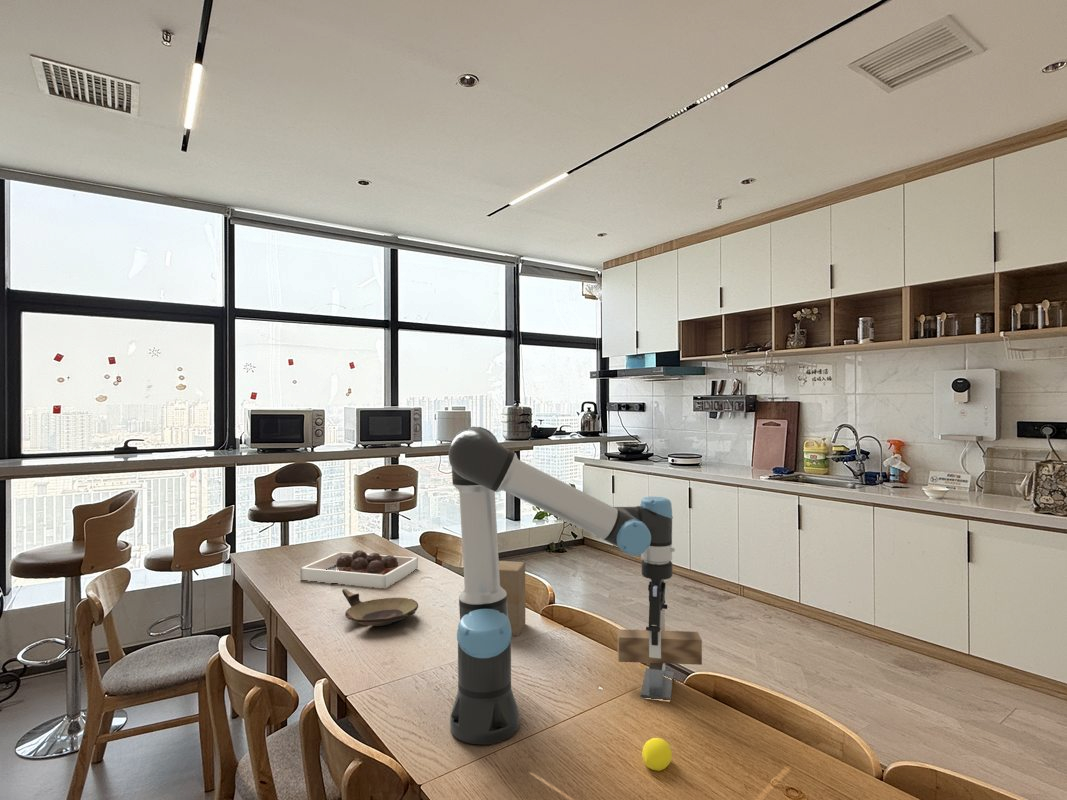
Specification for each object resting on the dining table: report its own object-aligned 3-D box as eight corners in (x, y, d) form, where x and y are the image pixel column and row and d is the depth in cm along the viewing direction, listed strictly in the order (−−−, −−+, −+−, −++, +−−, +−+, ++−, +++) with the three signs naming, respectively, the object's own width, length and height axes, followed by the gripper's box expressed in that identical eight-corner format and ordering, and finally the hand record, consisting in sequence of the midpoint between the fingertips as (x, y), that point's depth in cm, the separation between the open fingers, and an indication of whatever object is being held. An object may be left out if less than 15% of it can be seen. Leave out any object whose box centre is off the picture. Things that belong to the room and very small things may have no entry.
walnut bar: (697, 655, 146) (697, 631, 146) (701, 664, 141) (701, 640, 141) (617, 652, 148) (617, 629, 148) (618, 661, 143) (618, 637, 143)
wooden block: (518, 637, 175) (518, 570, 175) (486, 634, 177) (486, 569, 177) (525, 624, 185) (525, 561, 185) (495, 622, 187) (495, 560, 187)
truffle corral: (385, 589, 221) (385, 575, 221) (300, 580, 231) (300, 568, 231) (417, 569, 245) (417, 557, 245) (339, 562, 256) (339, 551, 256)
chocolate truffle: (327, 576, 239) (327, 555, 239) (357, 566, 253) (357, 546, 253) (378, 586, 225) (377, 564, 225) (407, 575, 240) (406, 554, 240)
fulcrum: (670, 702, 137) (670, 673, 137) (640, 698, 139) (640, 669, 139) (673, 675, 150) (673, 648, 150) (646, 672, 152) (645, 645, 152)
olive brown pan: (363, 643, 172) (363, 617, 172) (329, 614, 196) (329, 591, 196) (431, 625, 185) (431, 601, 185) (392, 599, 209) (392, 578, 209)
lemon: (659, 782, 109) (658, 753, 109) (635, 769, 113) (635, 741, 113) (679, 765, 114) (679, 738, 114) (655, 753, 117) (655, 727, 117)
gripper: (669, 576, 132) (669, 669, 132) (674, 548, 156) (675, 628, 156) (635, 573, 134) (636, 665, 134) (646, 546, 158) (646, 625, 158)
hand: (657, 645), depth 145 cm, fingers open, 13 cm apart
